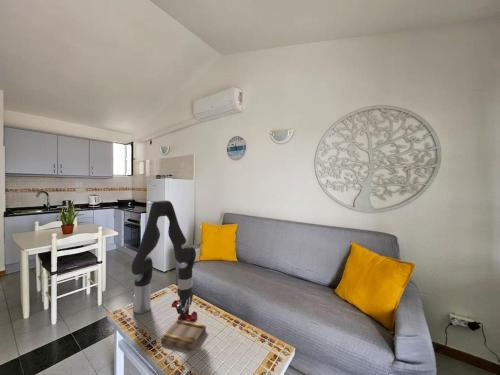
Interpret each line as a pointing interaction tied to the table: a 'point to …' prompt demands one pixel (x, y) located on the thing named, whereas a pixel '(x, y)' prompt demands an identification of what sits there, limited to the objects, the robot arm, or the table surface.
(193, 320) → the toy fire truck
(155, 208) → the robot arm
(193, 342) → the platform
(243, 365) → the table surface
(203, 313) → the table surface
